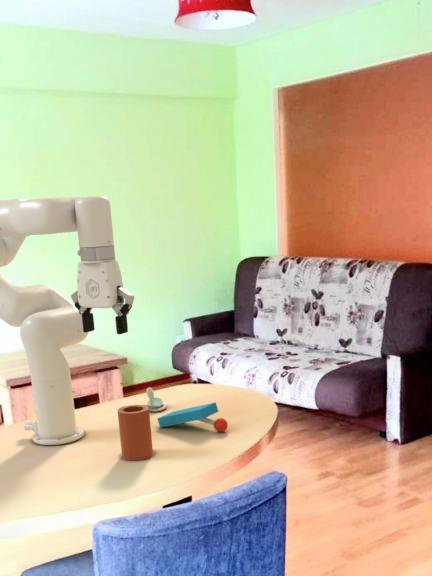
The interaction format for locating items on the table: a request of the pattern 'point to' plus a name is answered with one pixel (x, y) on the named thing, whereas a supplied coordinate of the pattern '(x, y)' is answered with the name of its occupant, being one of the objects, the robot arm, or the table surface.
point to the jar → (135, 432)
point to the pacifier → (154, 401)
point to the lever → (194, 417)
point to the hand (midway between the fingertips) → (105, 332)
